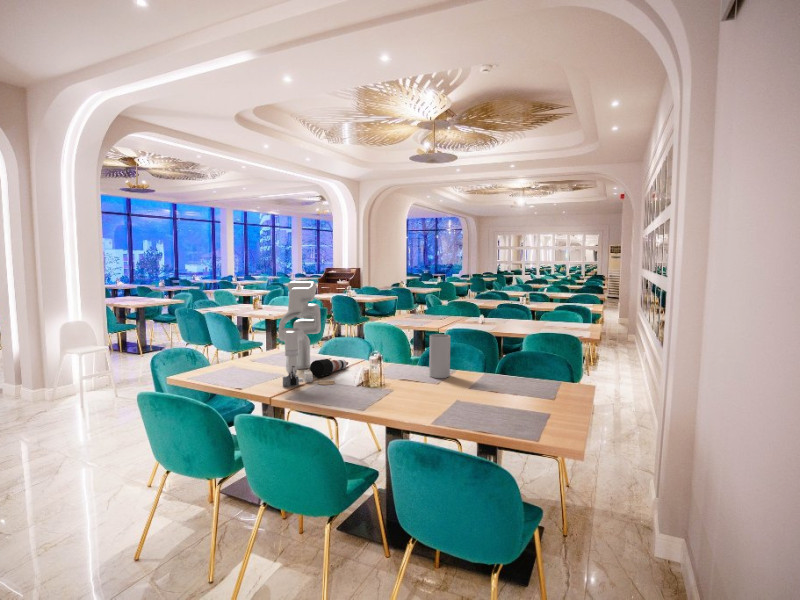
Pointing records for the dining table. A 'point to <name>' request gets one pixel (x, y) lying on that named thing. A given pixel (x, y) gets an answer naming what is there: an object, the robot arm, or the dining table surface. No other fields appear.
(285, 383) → the grey plug
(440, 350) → the cylinder vase
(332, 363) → the black capped bottle
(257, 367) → the dining table surface
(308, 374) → the cream plug
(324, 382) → the cork coaster
